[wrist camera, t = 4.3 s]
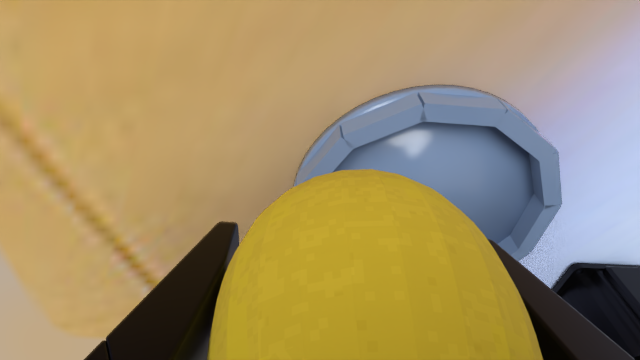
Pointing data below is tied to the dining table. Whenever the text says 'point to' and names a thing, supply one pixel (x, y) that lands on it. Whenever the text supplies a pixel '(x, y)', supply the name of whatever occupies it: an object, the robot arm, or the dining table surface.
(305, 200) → the lemon
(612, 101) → the dining table surface
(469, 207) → the light blue round dish
